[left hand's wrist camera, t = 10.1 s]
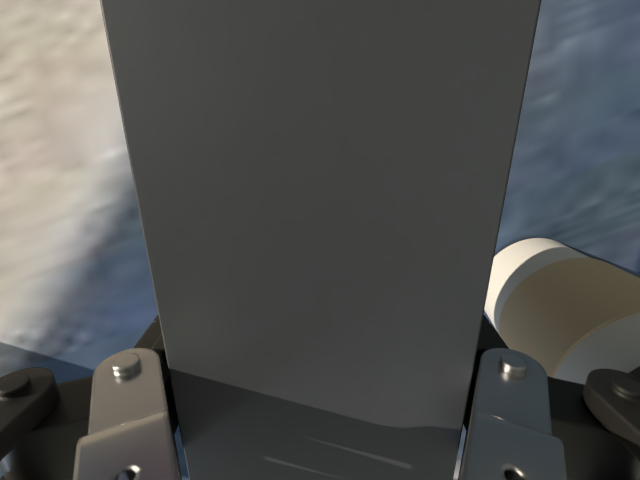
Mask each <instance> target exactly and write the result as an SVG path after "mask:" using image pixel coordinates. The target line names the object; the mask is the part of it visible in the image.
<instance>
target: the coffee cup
mask: <svg viewBox="0 0 640 480" xmlns="http://www.w3.org/2000/svg"><path fill="white" fill-rule="evenodd" d="M484 310H485V311H486V313H487V315H488V316H489V318H490V320H491V321H492V323H493V325H494V326H495V328H496V330H497V331H498V333H499V335H500V337H501V338H502V340H503V341H504V342H505V344H506V345H507V346H508V348H509V349H512V350H516V351H519V352H522V353H524V354H526V355H528V356H530V357H532V358H533V359H535V360H536V361H537V362H538V363H539V364H541V365H542V367H543V368H544V369H545V371H546V373H547V376H549V377H552V378H556V379H561V380H565V381H570V382H575V383H579V384H584V385H585V383H586V380H587V377H588V374H589V373H590V372H591V371H593V370H595V369H613V370H618V371H622V372H625V373H628V374H631V375H634V376H636V377H638V378H640V278H639V277H636V276H634V275H632V274H630V273H628V272H626V271H624V270H622V269H620V268H617V267H615V266H613V265H611V264H609V263H607V262H604V261H601V260H598V259H593V258H590V257H588V256H586V255H584V254H582V253H580V252H578V251H576V250H574V249H572V248H569V247H567V246H565V245H563V244H561V243H559V242H557V241H554V240H551V239H546V238H532V239H526V240H522V241H519V242H517V243H514V244H512V245H510V246H508V247H506V248H505V249H503V250H502V251H500V252H499V253H498V254H497V255H496V256H495V257H494V259H493V265H492V270H491V275H490V281H489V286H488V292H487V297H486V303H485V308H484Z"/></svg>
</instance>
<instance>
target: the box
mask: <svg viewBox="0 0 640 480" xmlns="http://www.w3.org/2000/svg"><path fill="white" fill-rule="evenodd" d="M100 4H101V9H102V14H103V20H104V25H105V31H106V36H107V41H108V47H109V52H110V57H111V63H112V68H113V73H114V79H115V84H116V90H117V95H118V100H119V106H120V111H121V116H122V122H123V127H124V132H125V138H126V143H127V149H128V154H129V159H130V165H131V170H132V175H133V181H134V186H135V191H136V197H137V202H138V208H139V213H140V218H141V224H142V229H143V234H144V240H145V245H146V250H147V256H148V261H149V267H150V272H151V277H152V283H153V288H154V293H155V299H156V304H157V309H158V315H159V320H160V326H161V331H162V336H163V342H164V347H165V352H166V358H167V363H168V368H169V374H170V379H171V385H172V390H173V395H174V401H175V406H176V411H177V417H178V422H179V428H180V433H181V438H182V444H183V449H184V454H185V460H186V465H187V470H188V476H189V480H453V476H454V470H455V465H456V460H457V454H458V449H459V443H460V438H461V432H462V427H463V422H464V416H465V411H466V405H467V400H468V395H469V389H470V384H471V378H472V373H473V367H474V362H475V357H476V351H477V346H478V340H479V335H480V330H481V324H482V319H483V313H484V308H485V303H486V297H487V292H488V286H489V281H490V275H491V270H492V265H493V259H494V254H495V248H496V243H497V238H498V232H499V227H500V221H501V216H502V210H503V205H504V200H505V194H506V189H507V183H508V178H509V173H510V167H511V162H512V156H513V151H514V145H515V140H516V135H517V129H518V124H519V118H520V113H521V108H522V102H523V97H524V91H525V86H526V81H527V75H528V70H529V64H530V59H531V53H532V48H533V43H534V37H535V32H536V26H537V21H538V16H539V10H540V5H541V0H100Z"/></svg>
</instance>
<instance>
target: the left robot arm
mask: <svg viewBox="0 0 640 480" xmlns="http://www.w3.org/2000/svg"><path fill="white" fill-rule="evenodd" d="M463 424H464V426H465V428H466V437H465V442H464V448H463V453H462V459H461V465H460V471H459V477H458V480H640V378H638V377H636V376H634V375H631V374H628V373H625V372H622V371H618V370H613V369H595V370H593V371H591V372H590V373H589V374H588V377H587V380H586V383H585V385H584V384H579V383H575V382H570V381H565V380H561V379H556V378H552V377H549V376H547V373H546V371H545V369H544V368H543V367H542V365H541V364H539V363H538V362H537V361H536V360H535V359H533V358H532V357H530V356H528V355H526V354H524V353H522V352H519V351H516V350H512V349H509V348H508V346H507V345H506V344H505V342H504V341H503V340H502V338H501V337H500V336H499V334H498V333H497V332H496V330H495V329H494V327H493V326H492V325H491V323H489V321H488V319H487V318H486V317H485V315H483V319H482V324H481V330H480V335H479V340H478V346H477V351H476V357H475V362H474V367H473V373H472V378H471V384H470V389H469V395H468V400H467V405H466V411H465V416H464V422H463ZM178 425H179V422H178V417H177V411H176V406H175V401H174V395H173V390H172V385H171V379H170V374H169V368H168V363H167V358H166V352H165V347H164V342H163V336H162V331H161V326H160V320H159V315H157V317H156V318H155V319H154V323H152V324H151V325H150V326H149V328H148V329H147V330H146V332H145V333H144V334H143V336H142V337H141V339H140V340H139V341H138V343H137V344H136V345H135V347H134V348H133V349H128V350H124V351H121V352H118V353H116V354H114V355H112V356H110V357H108V358H107V359H105V360H104V361H103V362H102V363H101V364H100V365H98V367H97V368H96V369H95V371H94V374H93V376H91V377H87V378H83V379H78V380H73V381H69V382H64V383H59V384H56V381H55V378H54V374H53V373H52V371H50V370H49V369H46V368H41V367H35V368H27V369H22V370H19V371H16V372H13V373H10V374H8V375H5V376H3V377H1V378H0V468H1V470H2V473H3V476H2V477H1V478H0V480H182V477H181V471H180V465H179V459H178V453H177V447H176V442H175V437H174V434H175V432H176V429H177V427H178Z"/></svg>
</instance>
